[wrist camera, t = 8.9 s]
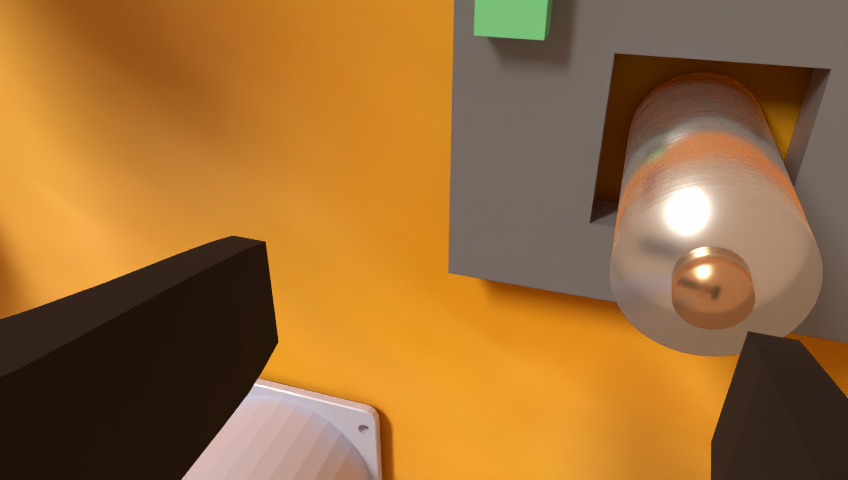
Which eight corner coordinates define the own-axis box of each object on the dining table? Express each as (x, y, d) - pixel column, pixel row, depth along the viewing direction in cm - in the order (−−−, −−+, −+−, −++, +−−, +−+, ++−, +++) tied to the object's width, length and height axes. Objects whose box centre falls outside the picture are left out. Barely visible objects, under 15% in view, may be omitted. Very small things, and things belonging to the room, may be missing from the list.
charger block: (901, 320, 17) (930, 376, 15) (461, 248, 20) (440, 287, 18) (1072, -53, 12) (1144, -40, 11) (472, -68, 16) (445, -60, 14)
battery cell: (751, 197, 17) (802, 394, 10) (622, 186, 18) (599, 360, 11) (777, 74, 15) (858, 218, 9) (636, 69, 16) (617, 197, 10)
